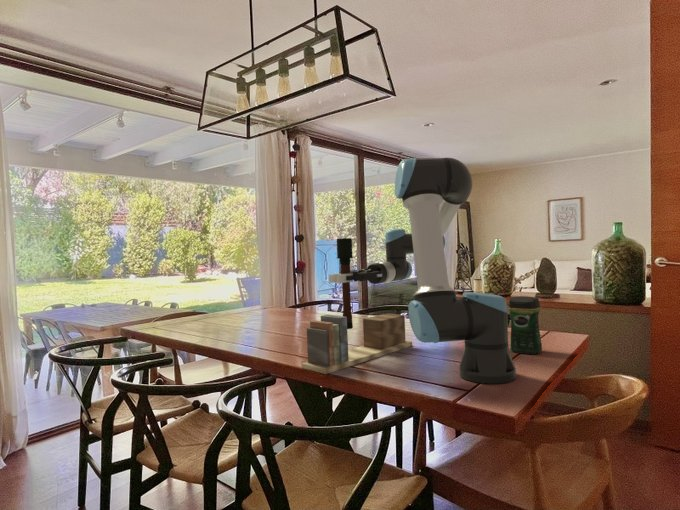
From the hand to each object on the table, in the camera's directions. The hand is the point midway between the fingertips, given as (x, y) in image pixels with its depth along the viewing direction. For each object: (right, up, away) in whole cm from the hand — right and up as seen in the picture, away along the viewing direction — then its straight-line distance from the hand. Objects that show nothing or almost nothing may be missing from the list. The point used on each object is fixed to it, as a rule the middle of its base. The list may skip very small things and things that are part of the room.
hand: (334, 278), depth 144 cm
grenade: (+5, -17, +4) cm, 18 cm away
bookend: (+18, -25, +17) cm, 35 cm away
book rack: (+9, -27, +8) cm, 30 cm away
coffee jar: (+64, -25, +5) cm, 69 cm away
